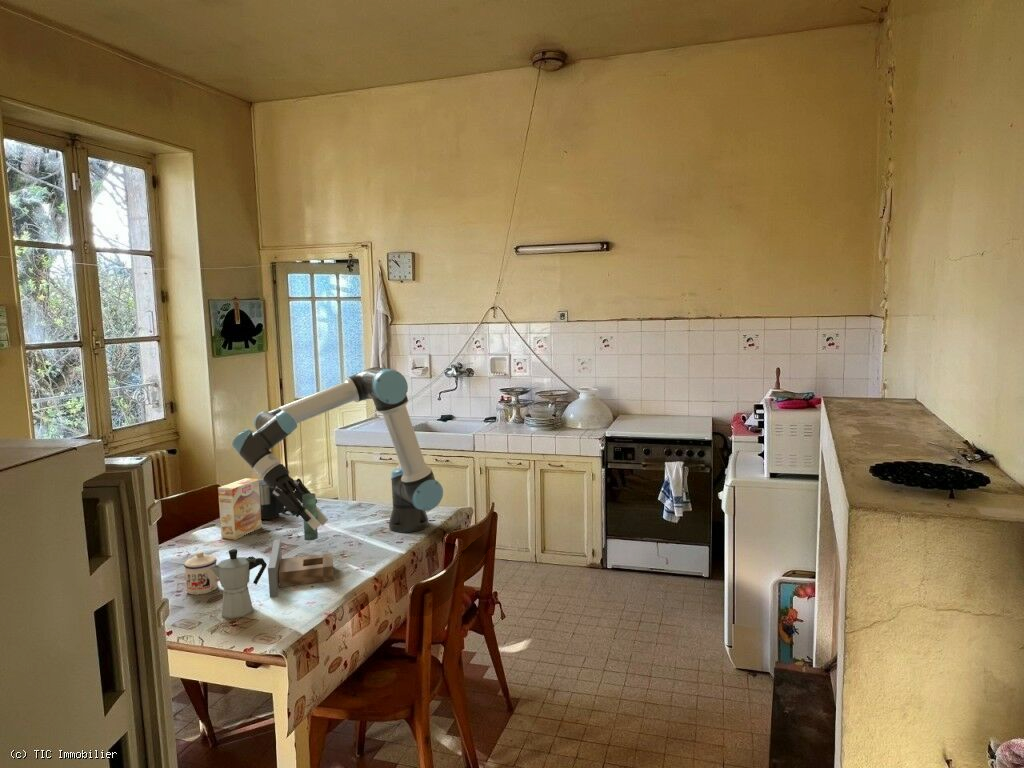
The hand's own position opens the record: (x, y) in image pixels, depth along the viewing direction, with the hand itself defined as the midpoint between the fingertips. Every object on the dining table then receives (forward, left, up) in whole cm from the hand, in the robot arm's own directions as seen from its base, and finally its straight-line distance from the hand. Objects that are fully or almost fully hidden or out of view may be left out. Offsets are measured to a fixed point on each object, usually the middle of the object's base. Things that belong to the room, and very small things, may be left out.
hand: (321, 524), depth 215 cm
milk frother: (+19, -76, -17) cm, 81 cm away
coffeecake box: (+30, -56, -17) cm, 66 cm away
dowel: (+3, -2, -5) cm, 6 cm away
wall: (+14, -2, -17) cm, 22 cm away
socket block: (+5, -2, -17) cm, 18 cm away
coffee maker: (+22, +18, -17) cm, 34 cm away
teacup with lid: (+34, -2, -17) cm, 39 cm away
